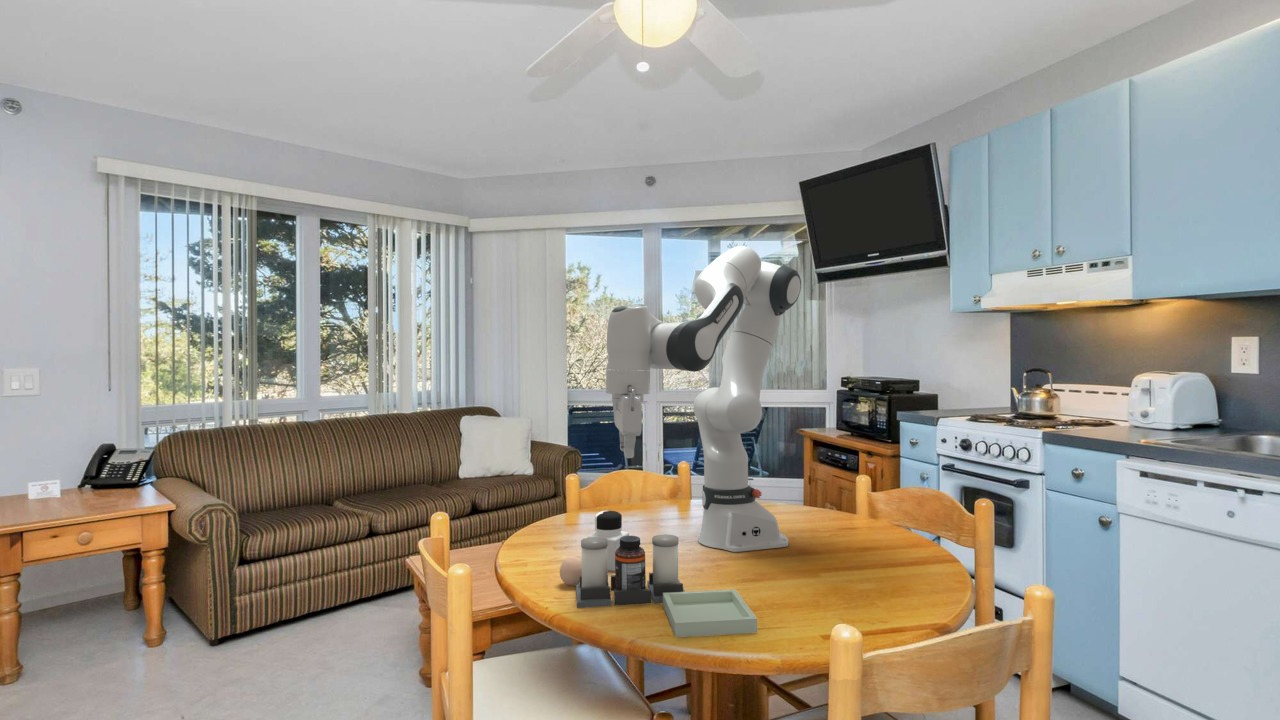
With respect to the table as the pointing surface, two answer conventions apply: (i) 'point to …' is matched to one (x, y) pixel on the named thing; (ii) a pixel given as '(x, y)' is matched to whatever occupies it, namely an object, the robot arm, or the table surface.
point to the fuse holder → (596, 579)
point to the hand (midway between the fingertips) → (626, 454)
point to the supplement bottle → (629, 564)
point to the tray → (708, 613)
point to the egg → (571, 570)
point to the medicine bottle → (609, 533)
